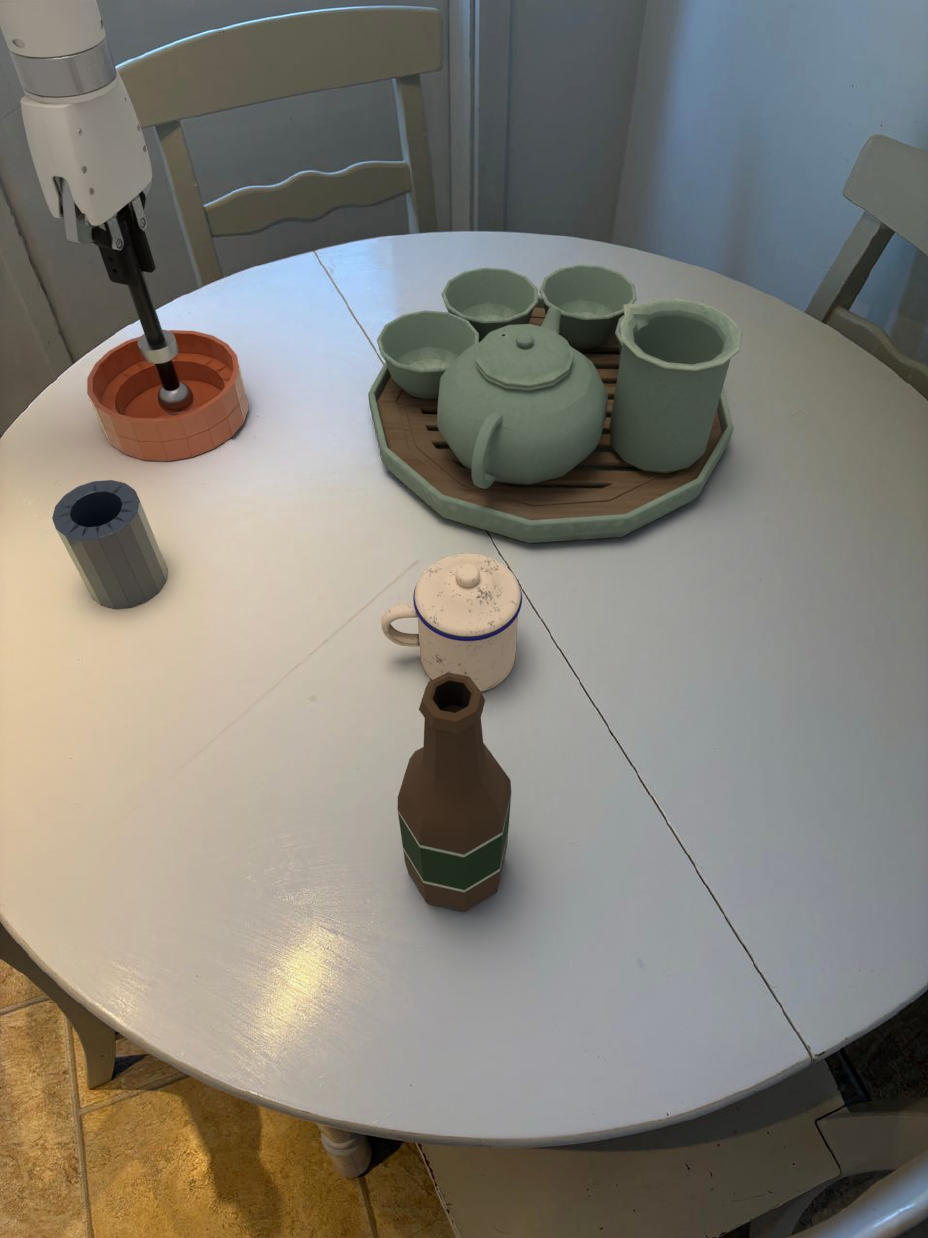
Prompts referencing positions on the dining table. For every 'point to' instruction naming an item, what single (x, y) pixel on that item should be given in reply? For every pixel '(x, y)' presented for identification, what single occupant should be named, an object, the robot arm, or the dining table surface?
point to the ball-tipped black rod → (157, 341)
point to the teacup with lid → (463, 619)
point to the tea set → (554, 403)
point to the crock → (111, 543)
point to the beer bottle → (454, 800)
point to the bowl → (135, 415)
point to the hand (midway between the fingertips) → (133, 274)
